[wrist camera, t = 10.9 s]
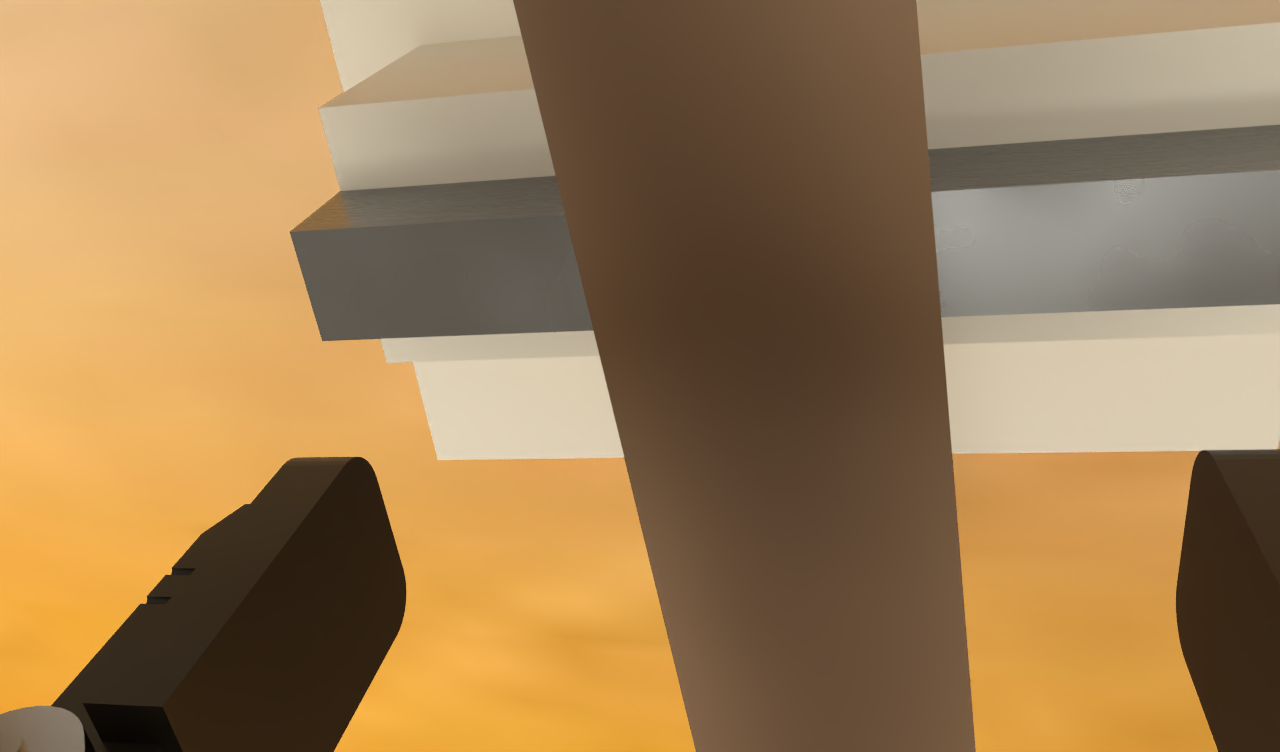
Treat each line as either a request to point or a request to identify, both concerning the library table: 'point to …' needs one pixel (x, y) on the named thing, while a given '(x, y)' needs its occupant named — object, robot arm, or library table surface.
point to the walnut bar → (771, 353)
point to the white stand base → (962, 211)
